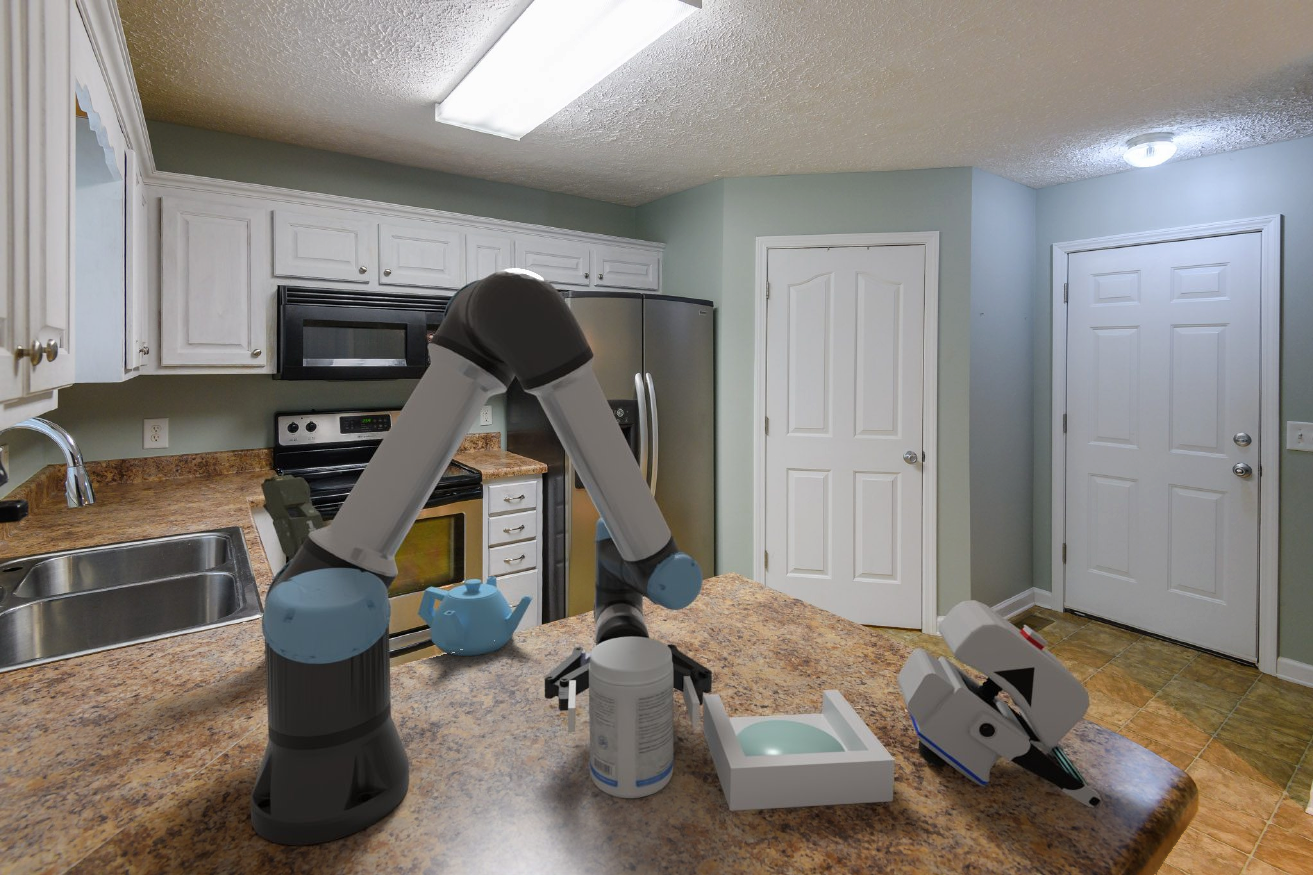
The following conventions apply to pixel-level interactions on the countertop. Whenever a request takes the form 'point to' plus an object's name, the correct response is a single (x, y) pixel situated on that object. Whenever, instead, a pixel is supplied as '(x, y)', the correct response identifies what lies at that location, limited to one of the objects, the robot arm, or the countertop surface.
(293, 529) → the mechanical leg
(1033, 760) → the robotic device
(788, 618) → the countertop surface
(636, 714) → the supplement tub
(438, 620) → the teapot
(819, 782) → the housing
